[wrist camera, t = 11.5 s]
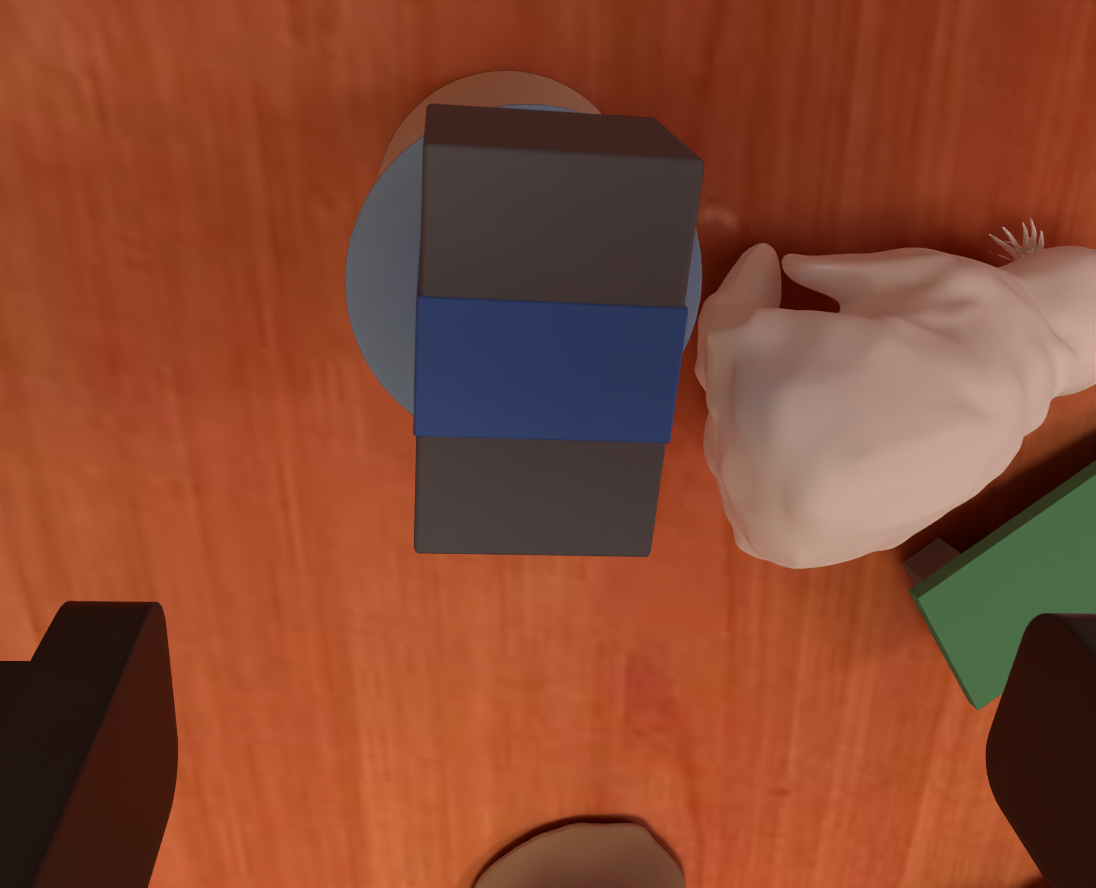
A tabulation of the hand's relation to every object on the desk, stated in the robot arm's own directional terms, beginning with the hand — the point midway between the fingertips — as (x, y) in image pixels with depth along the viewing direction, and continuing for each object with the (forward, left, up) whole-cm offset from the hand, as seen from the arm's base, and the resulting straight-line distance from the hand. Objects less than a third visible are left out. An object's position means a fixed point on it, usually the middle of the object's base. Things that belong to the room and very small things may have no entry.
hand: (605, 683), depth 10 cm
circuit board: (+11, +20, -18) cm, 29 cm away
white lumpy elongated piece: (+3, +10, -19) cm, 22 cm away
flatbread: (+25, +4, -18) cm, 31 cm away
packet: (0, 0, -12) cm, 12 cm away
